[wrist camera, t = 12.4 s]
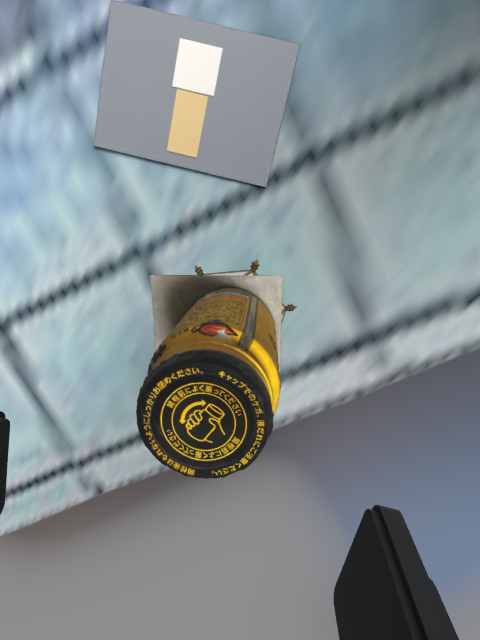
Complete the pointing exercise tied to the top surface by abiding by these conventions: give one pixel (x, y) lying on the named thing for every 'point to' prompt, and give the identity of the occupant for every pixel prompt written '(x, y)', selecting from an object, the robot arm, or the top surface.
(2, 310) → the top surface
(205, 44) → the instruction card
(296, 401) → the top surface
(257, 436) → the condiment
